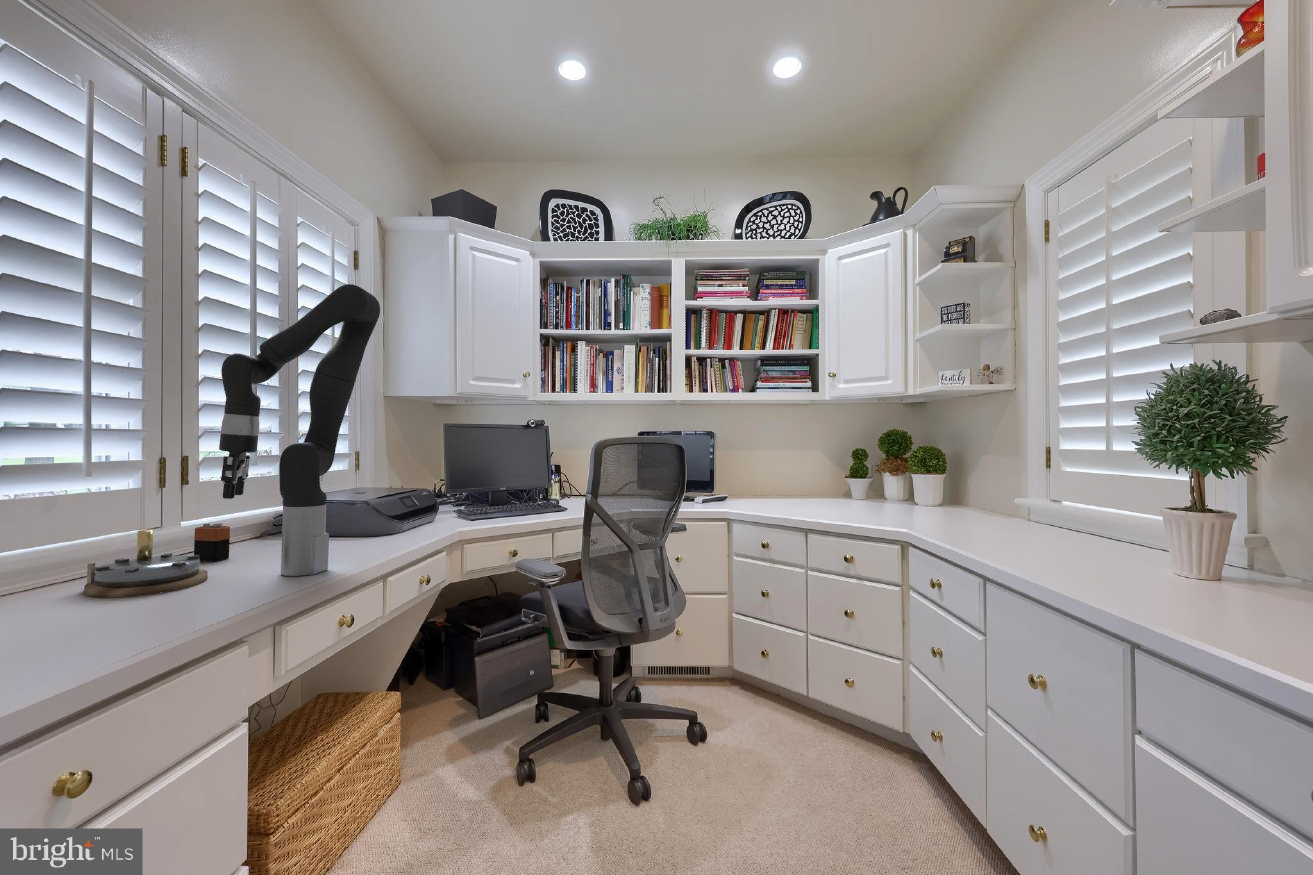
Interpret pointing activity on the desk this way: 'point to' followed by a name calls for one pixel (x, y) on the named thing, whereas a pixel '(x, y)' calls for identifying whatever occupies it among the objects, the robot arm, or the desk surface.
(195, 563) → the studded grey disc
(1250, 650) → the desk surface
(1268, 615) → the desk surface
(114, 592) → the base plate
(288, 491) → the robot arm
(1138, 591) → the desk surface
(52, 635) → the desk surface
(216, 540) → the battery
